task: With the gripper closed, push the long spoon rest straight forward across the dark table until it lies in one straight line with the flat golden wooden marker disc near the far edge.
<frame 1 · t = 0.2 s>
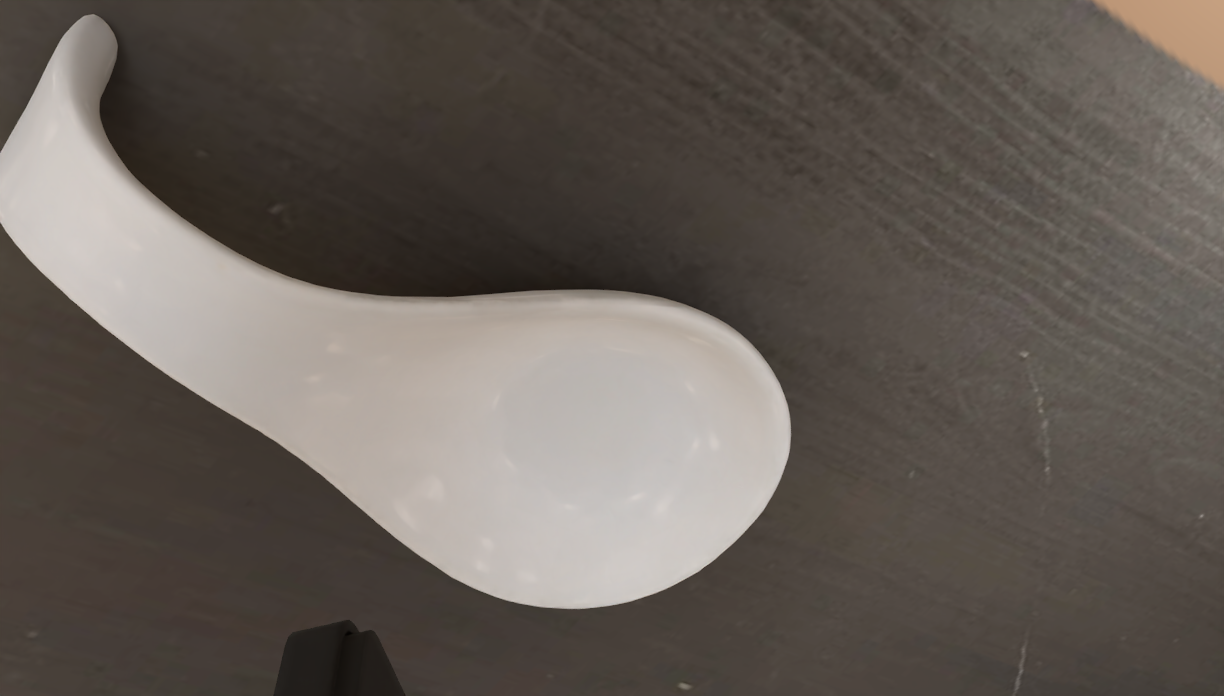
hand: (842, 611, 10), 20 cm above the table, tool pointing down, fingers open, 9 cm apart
spoon rest: (435, 309, 30), on the table
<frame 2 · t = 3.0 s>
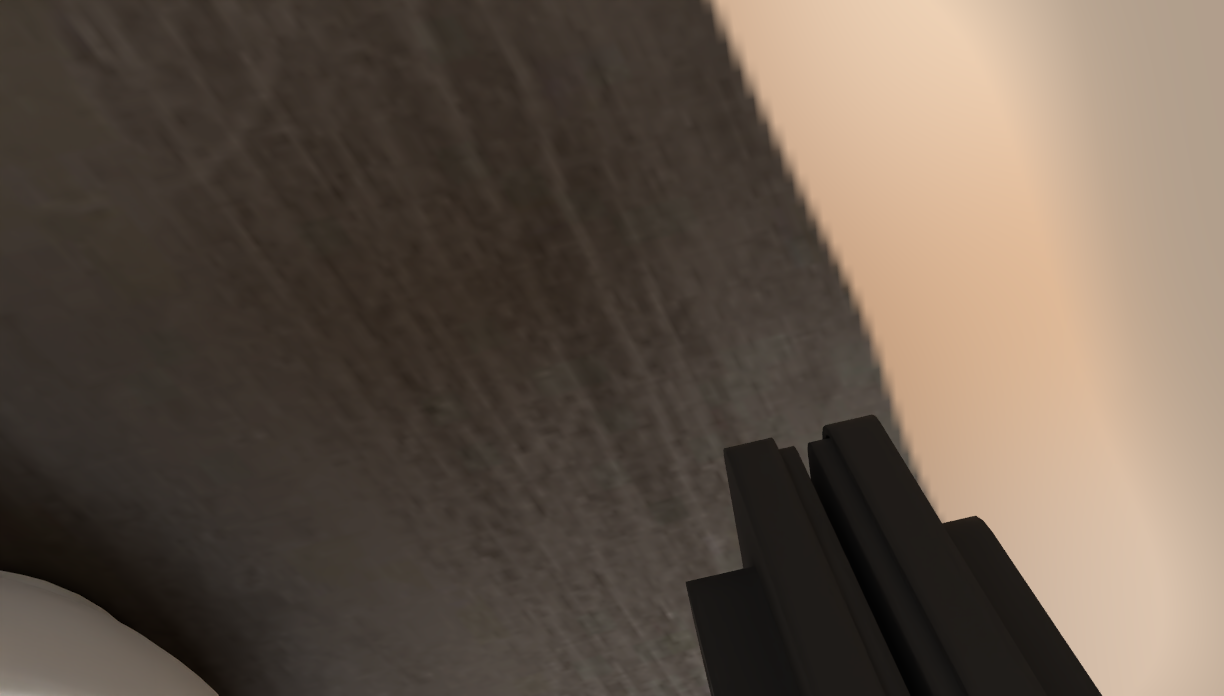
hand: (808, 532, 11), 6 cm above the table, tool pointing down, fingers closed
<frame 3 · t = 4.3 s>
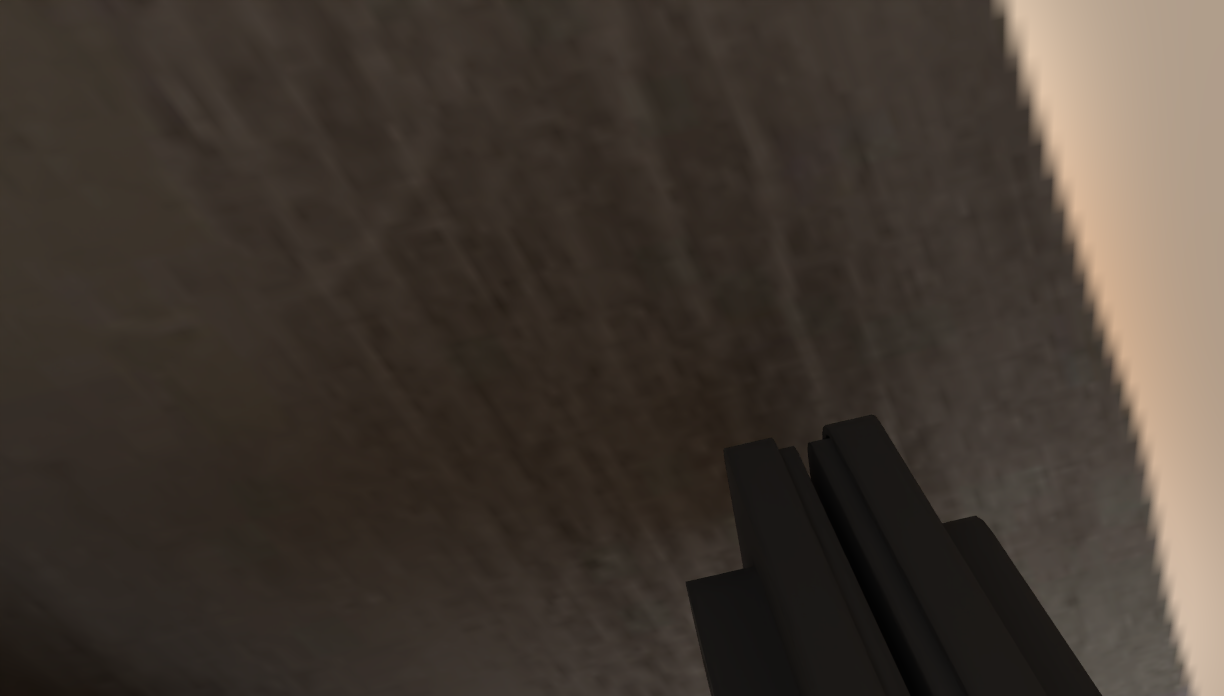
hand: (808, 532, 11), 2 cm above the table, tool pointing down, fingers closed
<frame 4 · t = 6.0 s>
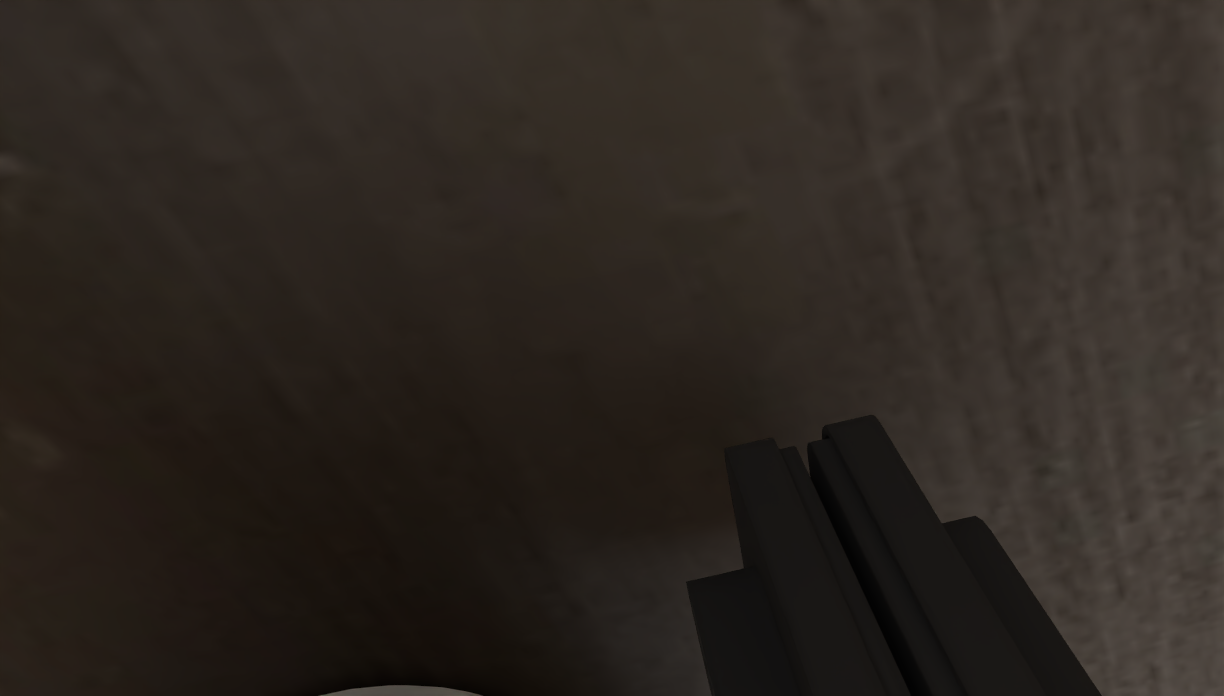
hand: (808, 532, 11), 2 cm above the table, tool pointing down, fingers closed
spoon rest: (219, 560, 13), on the table, touching gripper
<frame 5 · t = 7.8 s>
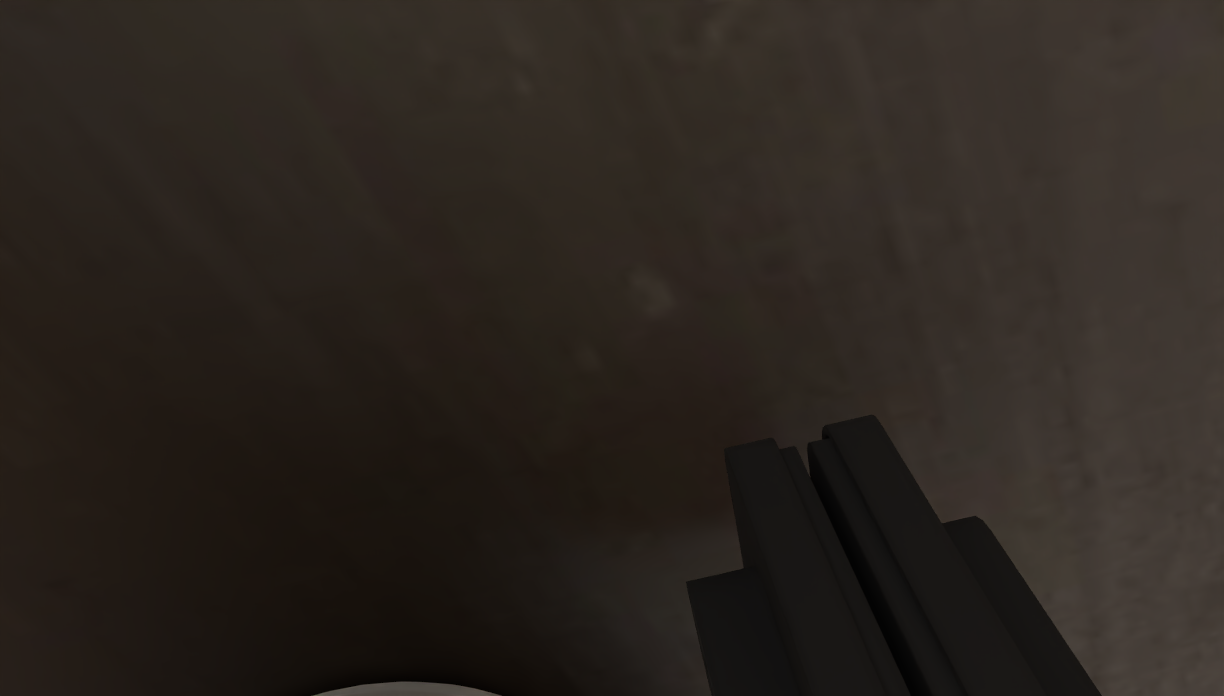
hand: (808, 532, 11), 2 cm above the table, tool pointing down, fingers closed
spoon rest: (235, 556, 13), on the table, touching gripper
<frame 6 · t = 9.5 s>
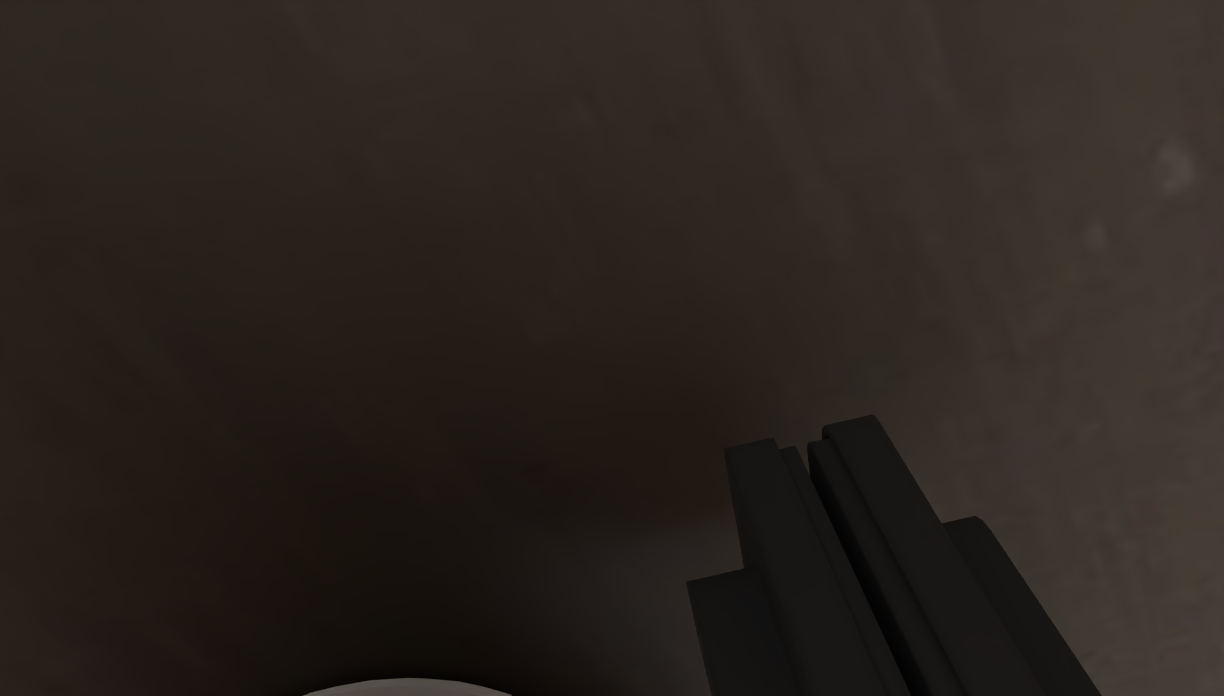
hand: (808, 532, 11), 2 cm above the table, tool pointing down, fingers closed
spoon rest: (246, 551, 13), on the table, touching gripper
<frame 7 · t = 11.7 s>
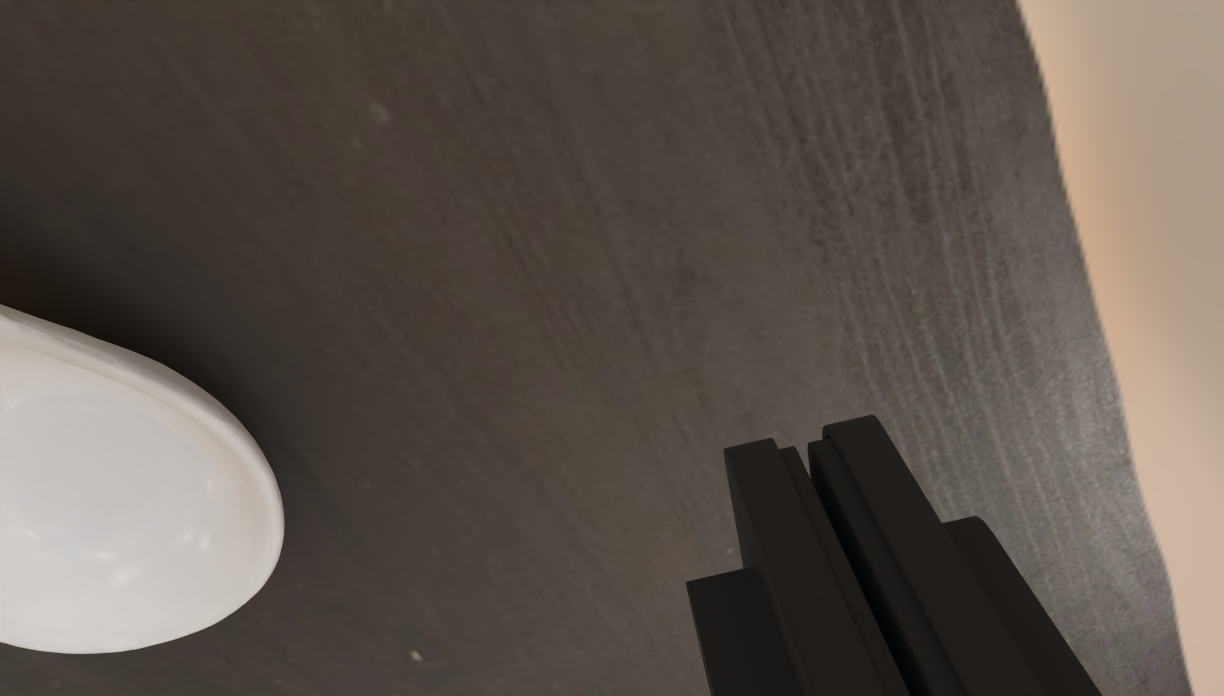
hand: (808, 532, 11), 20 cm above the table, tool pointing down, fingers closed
spoon rest: (6, 290, 29), on the table
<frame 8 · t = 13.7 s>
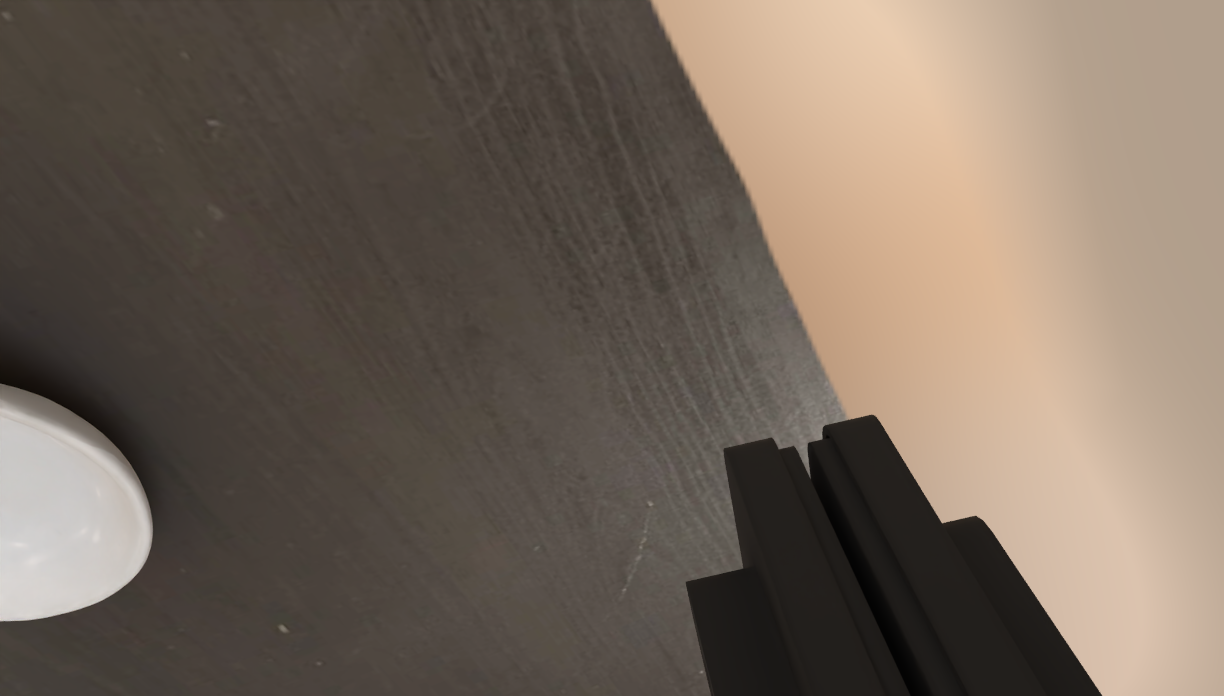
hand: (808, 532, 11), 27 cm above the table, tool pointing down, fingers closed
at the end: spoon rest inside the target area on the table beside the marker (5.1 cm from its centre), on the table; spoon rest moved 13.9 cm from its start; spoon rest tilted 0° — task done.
